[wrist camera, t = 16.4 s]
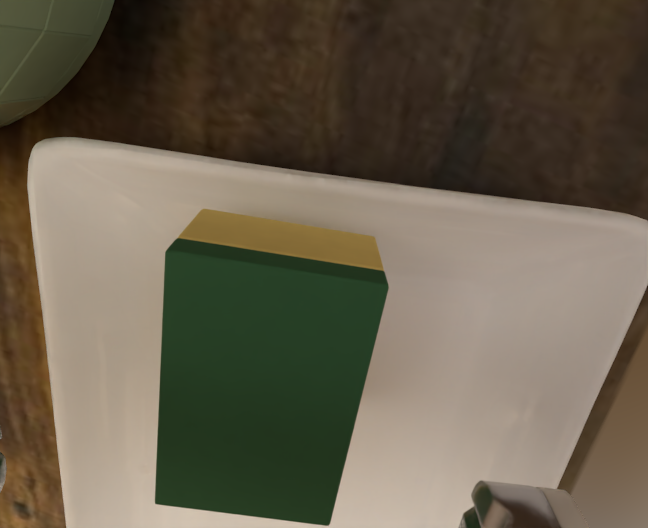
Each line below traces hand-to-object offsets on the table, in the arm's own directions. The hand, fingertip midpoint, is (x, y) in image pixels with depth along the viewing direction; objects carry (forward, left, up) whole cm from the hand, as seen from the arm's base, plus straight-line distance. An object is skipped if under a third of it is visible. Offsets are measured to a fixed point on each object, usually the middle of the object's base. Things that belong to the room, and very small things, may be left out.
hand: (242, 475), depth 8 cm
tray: (+11, +2, -9) cm, 15 cm away
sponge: (+1, 0, -6) cm, 6 cm away
